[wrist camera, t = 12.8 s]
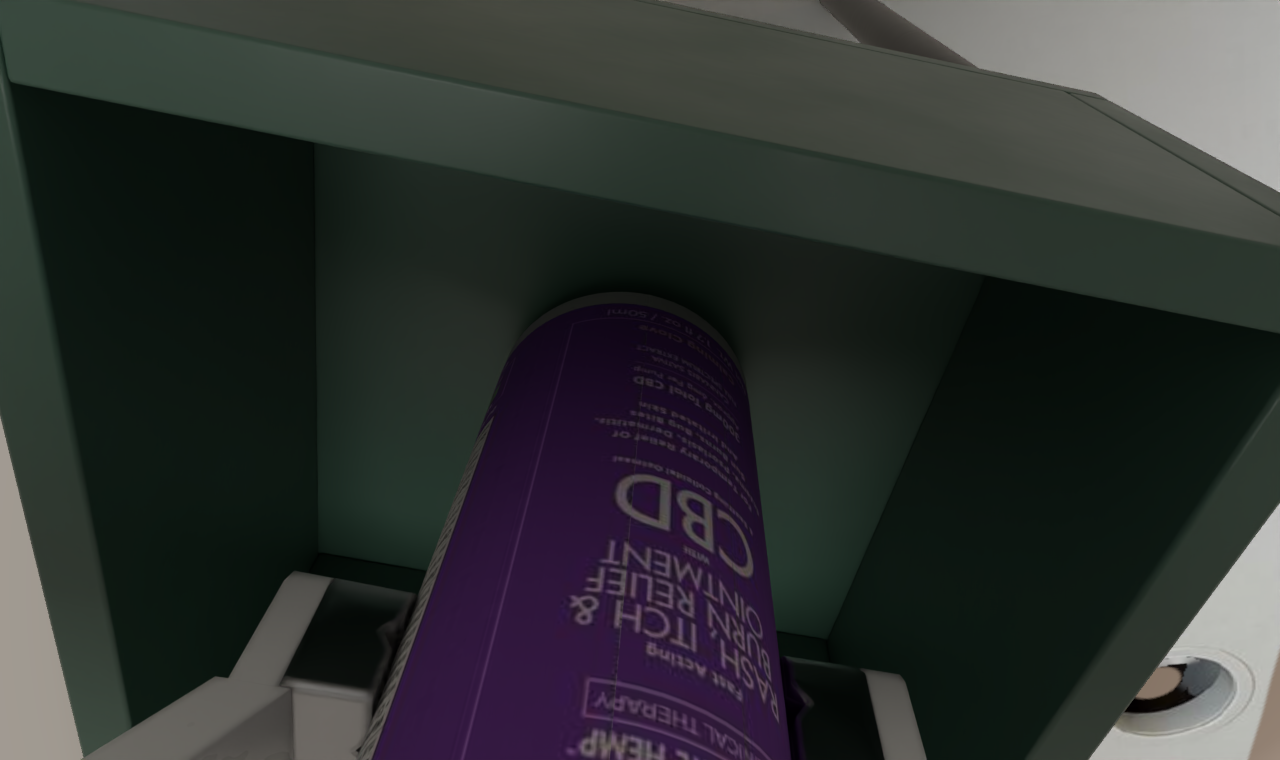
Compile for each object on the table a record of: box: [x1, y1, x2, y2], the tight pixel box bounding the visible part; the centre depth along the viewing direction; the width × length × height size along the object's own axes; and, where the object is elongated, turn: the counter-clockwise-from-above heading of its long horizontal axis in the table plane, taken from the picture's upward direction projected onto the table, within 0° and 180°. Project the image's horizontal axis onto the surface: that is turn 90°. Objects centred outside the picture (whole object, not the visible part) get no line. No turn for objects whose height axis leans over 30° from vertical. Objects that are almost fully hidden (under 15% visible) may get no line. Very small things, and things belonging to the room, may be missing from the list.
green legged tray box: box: [0, 0, 1280, 760], centre depth 23 cm, size 14×14×29 cm
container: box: [357, 292, 792, 760], centre depth 10 cm, size 5×5×15 cm
